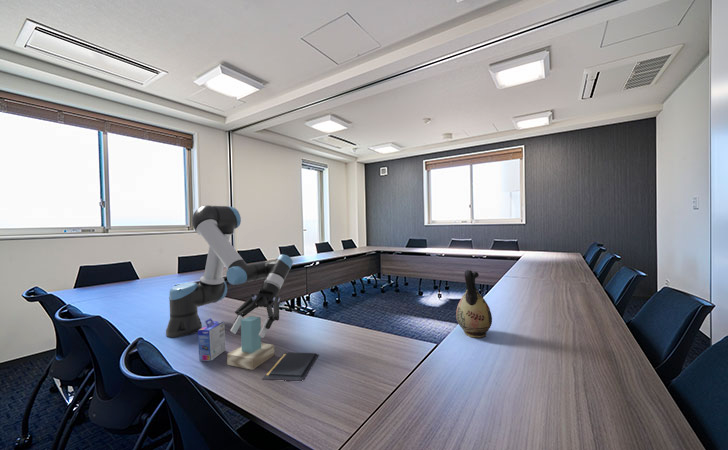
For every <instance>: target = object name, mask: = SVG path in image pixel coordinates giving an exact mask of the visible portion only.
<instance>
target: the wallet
mask: <svg viewBox="0 0 728 450" xmlns="http://www.w3.org/2000/svg"><path fill="white" fill-rule="evenodd" d="M319 356H320V354H318V353H316V352H315V353H314V352H295V351H294V352H290V351H289V352H284V353H283V354H282V355H281V357H280V358H279V359H278V360H277V361H276V362H275V363H274V364H273V365H272V367H271V368H270V369H269V370H268V371H267V372H266V374H265V375H264V376H263V377H262V378H261V380H264V381H274V380H284V381H283V382H290V381H302V380H304V381H305V379H306V378H307V376H308V375H307V374H309V373H310V371H311V369H312V368H313V366H314V364H315V363H316V362H317V360H318V359H319ZM311 367H312V368H311ZM305 377H306V378H305ZM285 380H286V381H285ZM302 382H303V381H302Z"/></svg>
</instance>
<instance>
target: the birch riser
mask: <svg viewBox="0 0 728 450" xmlns="http://www.w3.org/2000/svg"><path fill="white" fill-rule="evenodd" d="M274 355H275V344H270V343H264V342H261V348H260V349H258V350H256V351H255V352H253V353H248V352H243V351H242V348H241V346H239V347H238V348H235V349H234V350H232V351H230V352H228V353H227V354H226V359H227V361H226V364H227V365H228V366H232V367H237V368H241V369H247V370H254V369H256V368H257V367H259V366H260V365H262V364H263V363H265V362H266V361H267V360H269V359H271V358H272V357H274Z"/></svg>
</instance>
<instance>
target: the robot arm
mask: <svg viewBox="0 0 728 450" xmlns="http://www.w3.org/2000/svg"><path fill="white" fill-rule="evenodd" d="M241 217H242V216H241V214H240V213H239V210H238V209H237V208H236V207H233V206H228V205H208V204H207V205H203V206H199V207H198V208H197V209H196V210H195V211H194V212H193V214H192V216H191V224H192V227H193V229H194V231H195V232H196V234H197V235H199V236H202V237H203V239H204V241H205V242H206V243H207V244H208V245H209V247H208V252H207V258H206V263H205V269H204V275H202V276H200V278H199V283H197V282H195V281H190V282H184V283H180V284H177V285H175V286H172V287H171V288H170V289H169V297H168V300H169V320H168V324H167V326H166V328H165V336H166V337H168V338H181V337H186V336H190V335H192V334H193V335H194V334H196V333H198V330H199V329H201V328H203V323H202V321H201V318H200V317H199V314H198V308H199V307H202V306H206V305H210V304H213V303H217V302H220V301H222V300H223V299H224V298H225V297H226V295H227V293H228V286H227V282H228V283H229V284H230V285H233V286H234V285H236V286H237V285H242V284H245V283H249V282H253V281H258V280H262V279H265V280H264V281H263V283H262V285H261V287H260V288H259V292H258V294H257V295H256V294H254V293H252V294H250V295H249V298H247V300H246V301H245V302H244V303H242V304H241V305H240V306H239V307H237V309H236V310H235V311H234V314H236V317H235V319H234V321H233V325H232V327H231V328H230V329H229V331H230V332H231V333H233V334H234V335H236V333H237V332H238V330H239V328H241V320H242V319H245V318H244V317H245V316H247V315H249V314H250V313H251V312H253V310H255V309H258V308H265V309H266V313H267V316H268V317H267V318H266V319H265V320H264V322H263V324H262V326H261V330H260V333H259V336H260V337H261V339H264V338H265V336H266V335H267V333H268V330H270V329H271V327H272V324H273V322H274V321H277V322H278V321H279V320H280V303H281V301H282V299H281V297H279V292H280V290H281V288H282V286H283V284H284V282H285V280H286V279H287V276H288V274H289V272H290V270H291V269H292V266H293V264H294V263H293V262H294V261H293V259H292V258H291V256H289V255H287V254H282V253H281V254H279V255H278V256H277V257H276V260H270V261H259V262H256V263H255V262H254V263H250V264H247V262H246V261H245V260H244V259H243V258H242V256H241V255H240V254H239V253H238V251H237V249H235V247H234V246H233V245H232V244H231V242H230V237H231V236H232V235H233V234H234V231H235V229H237V228H239V227H240V225H241V222H242V218H241ZM224 267H225V268H226V270H227V271H226V274H225V276H226V278H227V280H226V281H227V282H226V281H225V278H224V277H223V274H224V273H223V272H224ZM272 303H273V304H272ZM272 306H273V307H272Z"/></svg>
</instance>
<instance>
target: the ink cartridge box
mask: <svg viewBox="0 0 728 450" xmlns="http://www.w3.org/2000/svg"><path fill="white" fill-rule="evenodd" d="M204 322H205V326H202V328H201V329H199V330H198V332H197V341H198V357H199V361H200V362H211V361H213V360H215V358H217V357H218V356H220V355H221V354H222V353H223V352H225V351H226V350H227V349H226V331H225V321H219V320H218V321H217V320H215V321H213V319H212V318H211V317H210V318H208V319H207V320H205V321H204Z"/></svg>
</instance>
